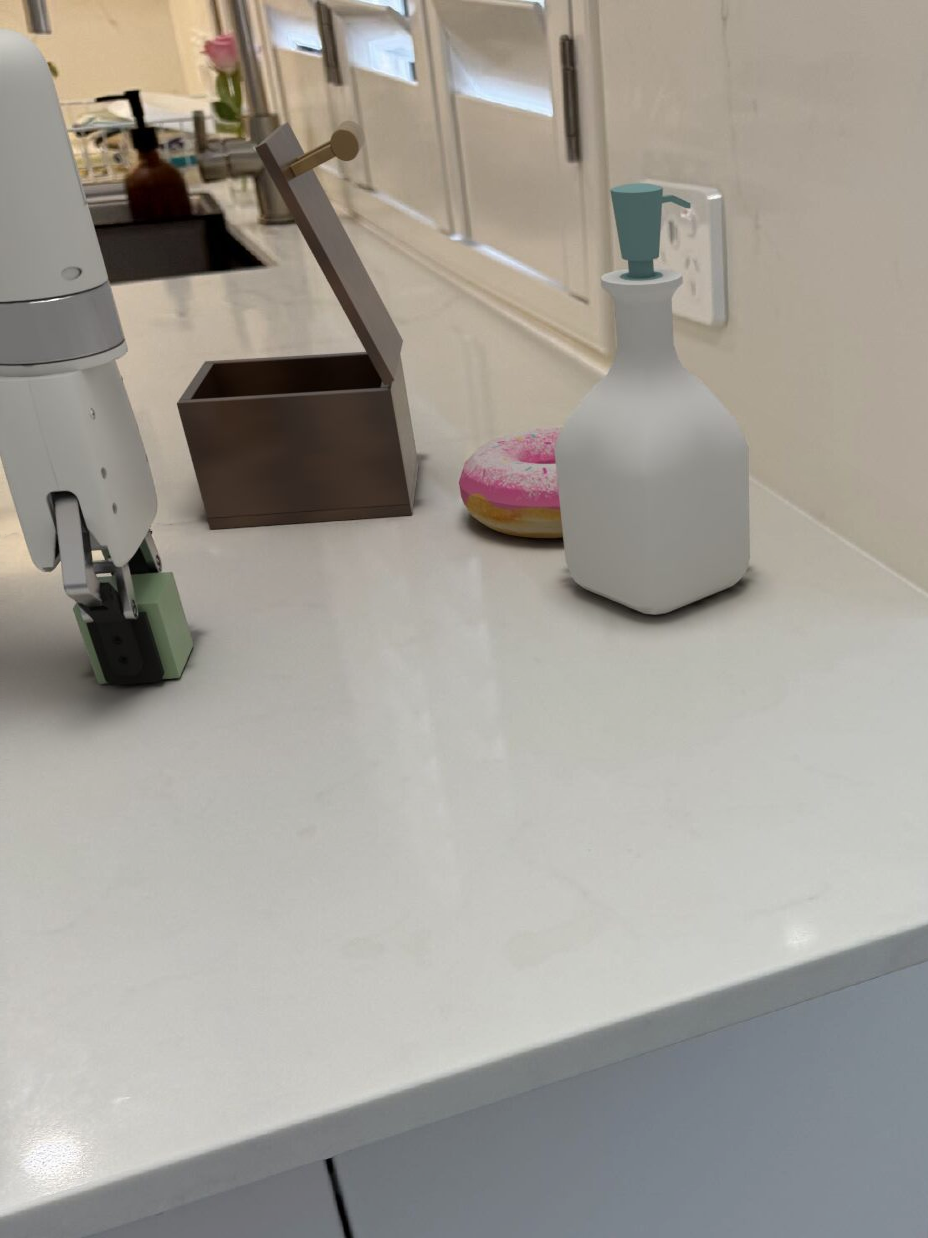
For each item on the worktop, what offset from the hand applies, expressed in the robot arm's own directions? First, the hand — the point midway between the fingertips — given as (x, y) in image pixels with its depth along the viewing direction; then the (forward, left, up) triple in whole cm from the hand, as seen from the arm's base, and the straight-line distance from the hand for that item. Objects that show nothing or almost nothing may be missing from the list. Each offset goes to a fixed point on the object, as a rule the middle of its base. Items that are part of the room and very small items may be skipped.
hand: (145, 658), depth 78 cm
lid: (+11, +29, +16) cm, 35 cm away
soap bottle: (+31, +6, -1) cm, 32 cm away
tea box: (+7, +29, 0) cm, 30 cm away
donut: (+25, +21, -1) cm, 33 cm away
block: (0, 0, 0) cm, 0 cm away
